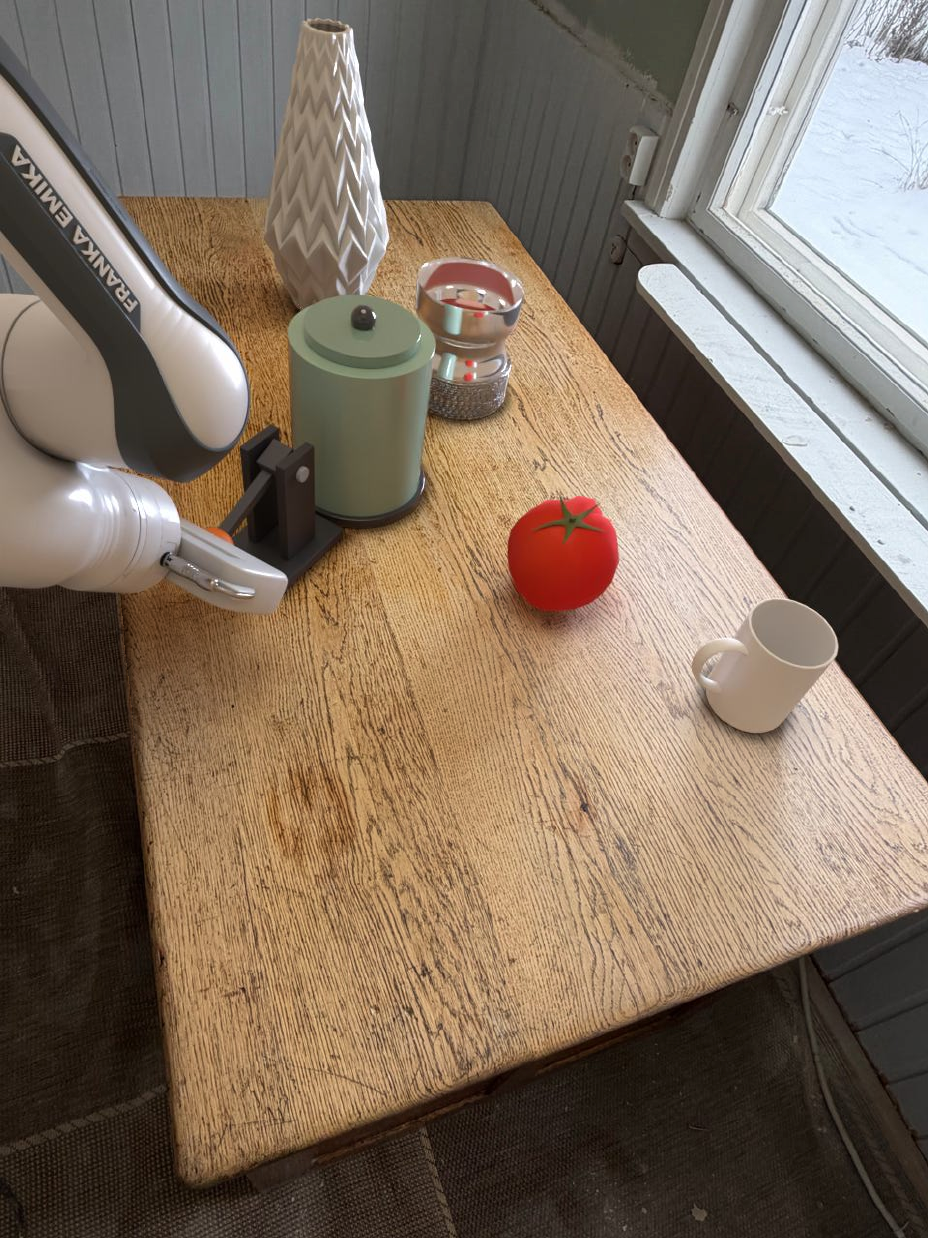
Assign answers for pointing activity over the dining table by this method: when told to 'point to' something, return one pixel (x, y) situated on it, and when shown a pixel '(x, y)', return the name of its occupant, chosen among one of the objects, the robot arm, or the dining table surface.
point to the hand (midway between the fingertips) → (221, 549)
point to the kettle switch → (253, 490)
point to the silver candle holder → (468, 333)
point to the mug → (766, 664)
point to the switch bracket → (285, 511)
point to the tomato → (563, 554)
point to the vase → (325, 175)
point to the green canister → (361, 405)
